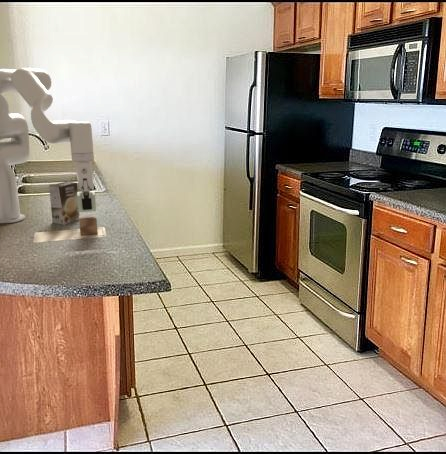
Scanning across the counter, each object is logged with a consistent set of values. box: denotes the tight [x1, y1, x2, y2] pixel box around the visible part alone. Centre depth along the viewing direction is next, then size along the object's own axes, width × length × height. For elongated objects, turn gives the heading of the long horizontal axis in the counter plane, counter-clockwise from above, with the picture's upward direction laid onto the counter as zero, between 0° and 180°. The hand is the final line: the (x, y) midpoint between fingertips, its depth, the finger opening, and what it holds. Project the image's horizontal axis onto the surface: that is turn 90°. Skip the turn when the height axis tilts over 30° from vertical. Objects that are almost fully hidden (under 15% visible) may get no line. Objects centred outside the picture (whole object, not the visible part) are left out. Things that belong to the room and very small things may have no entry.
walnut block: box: [78, 214, 98, 236], centre depth 182 cm, size 6×6×6 cm
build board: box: [32, 226, 107, 244], centre depth 181 cm, size 25×13×1 cm, turn 107°
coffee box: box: [48, 181, 81, 225], centre depth 198 cm, size 9×6×16 cm
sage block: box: [77, 190, 97, 213], centre depth 180 cm, size 6×6×6 cm
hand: (87, 206), depth 180 cm, fingers closed on sage block, 6 cm apart
